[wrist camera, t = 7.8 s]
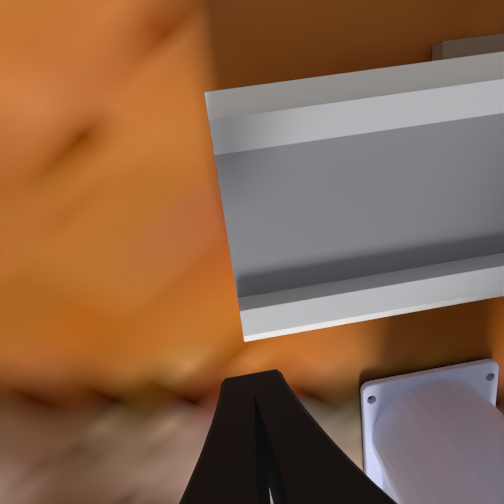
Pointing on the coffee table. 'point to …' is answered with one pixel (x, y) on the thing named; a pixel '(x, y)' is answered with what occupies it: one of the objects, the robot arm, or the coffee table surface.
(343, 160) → the balance beam
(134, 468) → the coffee table surface
